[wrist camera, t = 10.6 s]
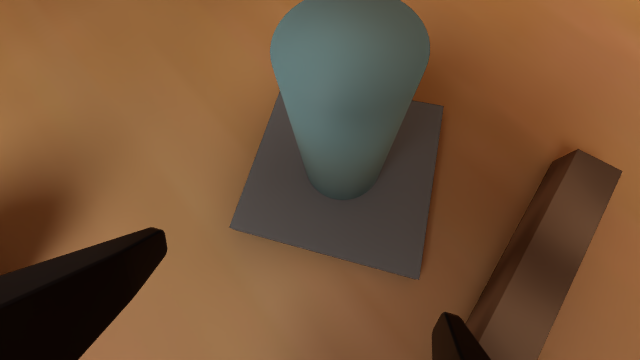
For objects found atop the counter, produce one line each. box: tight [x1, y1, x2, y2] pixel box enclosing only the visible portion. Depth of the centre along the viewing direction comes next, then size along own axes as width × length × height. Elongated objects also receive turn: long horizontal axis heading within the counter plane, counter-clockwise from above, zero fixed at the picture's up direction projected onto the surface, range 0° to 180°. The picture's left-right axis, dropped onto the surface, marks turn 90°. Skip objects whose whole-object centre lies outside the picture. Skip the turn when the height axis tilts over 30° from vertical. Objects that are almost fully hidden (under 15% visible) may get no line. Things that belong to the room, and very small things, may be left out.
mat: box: [229, 92, 444, 280], centre depth 18 cm, size 12×12×1 cm
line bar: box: [466, 149, 622, 360], centre depth 15 cm, size 16×2×2 cm, turn 143°
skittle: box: [270, 0, 430, 200], centre depth 13 cm, size 5×5×10 cm
